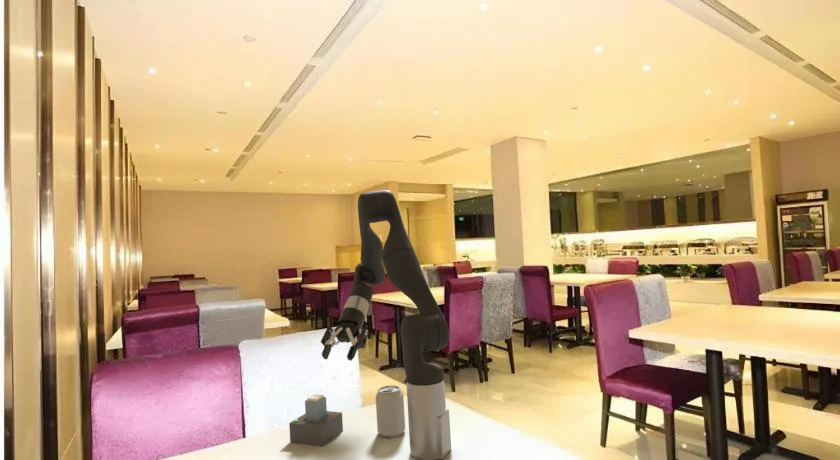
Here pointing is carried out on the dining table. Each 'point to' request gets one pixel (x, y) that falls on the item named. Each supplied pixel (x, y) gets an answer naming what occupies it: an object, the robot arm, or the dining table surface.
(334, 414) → the port block
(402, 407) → the can
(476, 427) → the dining table surface
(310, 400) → the plug
